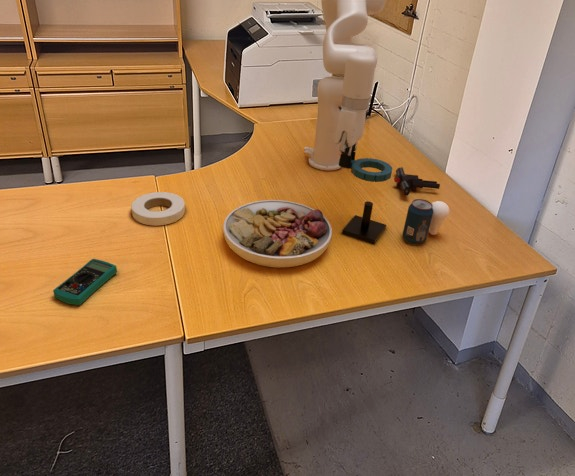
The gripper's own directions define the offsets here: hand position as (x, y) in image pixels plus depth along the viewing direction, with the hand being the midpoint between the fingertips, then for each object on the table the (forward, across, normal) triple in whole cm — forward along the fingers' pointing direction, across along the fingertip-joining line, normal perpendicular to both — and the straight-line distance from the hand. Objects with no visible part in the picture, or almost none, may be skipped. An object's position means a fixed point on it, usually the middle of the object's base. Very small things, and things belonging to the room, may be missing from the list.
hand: (346, 165), depth 147 cm
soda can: (+19, -3, +23) cm, 30 cm away
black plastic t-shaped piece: (+19, -35, +14) cm, 42 cm away
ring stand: (+19, +1, +9) cm, 21 cm away
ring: (0, 0, +6) cm, 6 cm away
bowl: (+19, +20, -10) cm, 29 cm away
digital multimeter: (+19, +62, -39) cm, 76 cm away
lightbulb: (+19, -9, +27) cm, 34 cm away
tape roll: (+19, +26, -47) cm, 57 cm away
